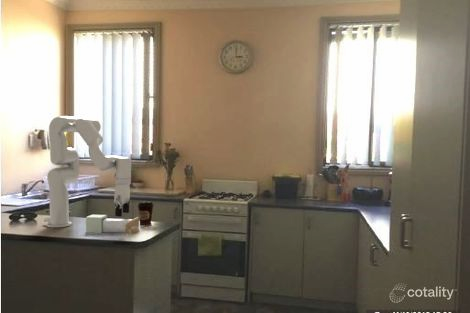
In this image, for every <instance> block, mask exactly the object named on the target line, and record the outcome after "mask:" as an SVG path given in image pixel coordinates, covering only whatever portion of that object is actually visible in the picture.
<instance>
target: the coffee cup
mask: <svg viewBox="0 0 470 313" xmlns="http://www.w3.org/2000/svg"><path fill="white" fill-rule="evenodd" d="M137 208H138V217H139V226H142V227H146V226H152V218H153V214H154V213H153V212H154V211H153V209H154V203H153V201H151V200H148V201H147V200H144V201H139V202H138V204H137Z"/></svg>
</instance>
